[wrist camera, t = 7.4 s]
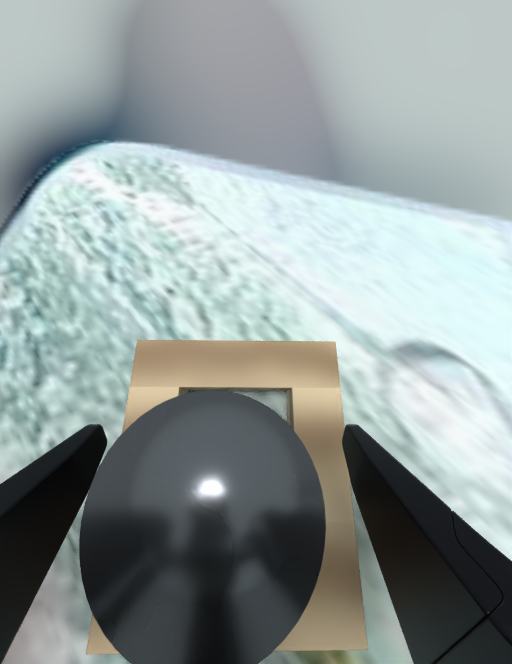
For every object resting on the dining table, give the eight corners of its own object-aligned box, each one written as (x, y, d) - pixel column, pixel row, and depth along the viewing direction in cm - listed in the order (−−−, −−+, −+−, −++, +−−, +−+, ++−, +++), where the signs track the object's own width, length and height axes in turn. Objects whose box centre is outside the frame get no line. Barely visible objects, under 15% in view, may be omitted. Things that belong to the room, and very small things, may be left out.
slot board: (347, 609, 14) (367, 649, 11) (114, 612, 14) (85, 654, 11) (324, 351, 19) (335, 341, 16) (151, 349, 18) (137, 339, 16)
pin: (283, 474, 16) (366, 617, 5) (208, 501, 15) (91, 739, 4) (260, 398, 17) (280, 364, 6) (191, 419, 17) (71, 428, 6)
